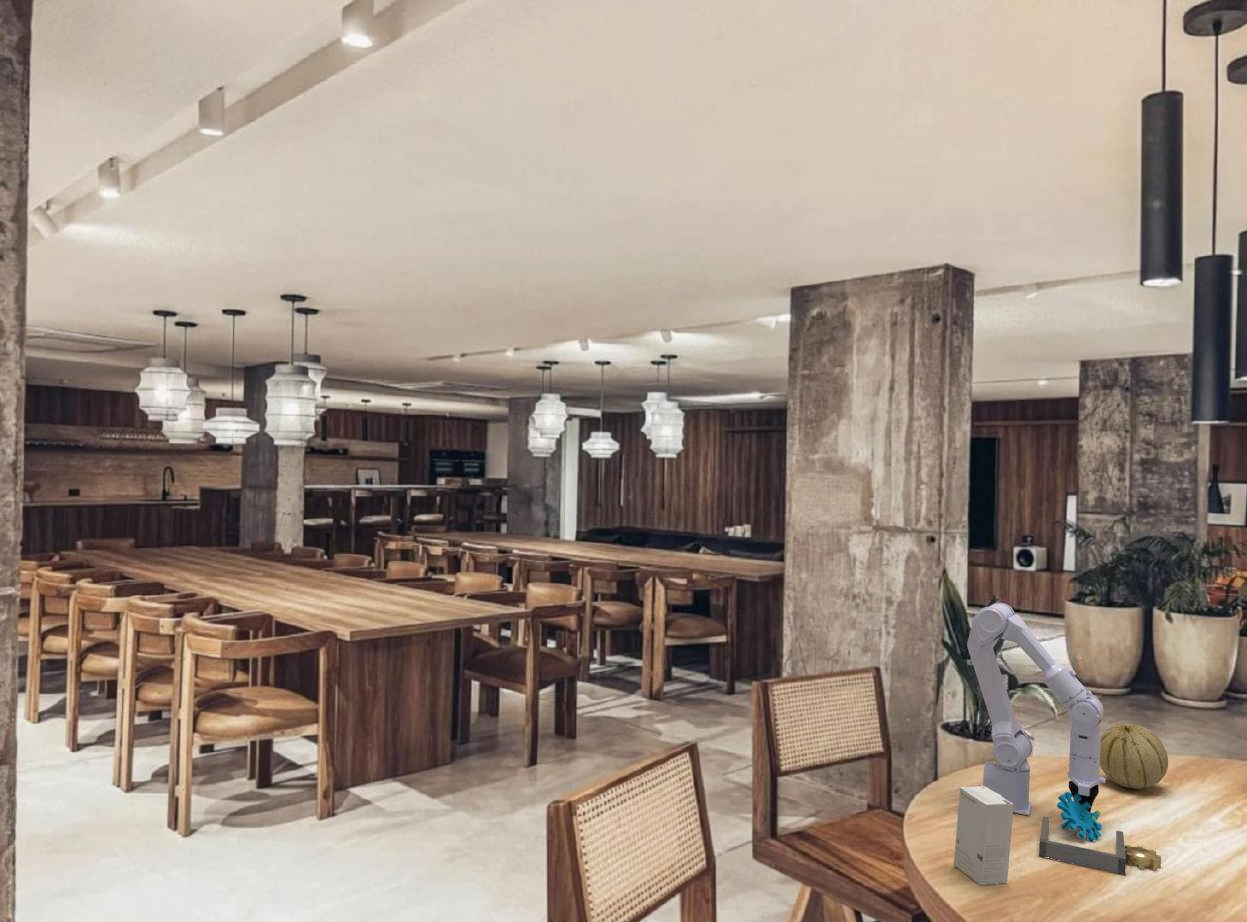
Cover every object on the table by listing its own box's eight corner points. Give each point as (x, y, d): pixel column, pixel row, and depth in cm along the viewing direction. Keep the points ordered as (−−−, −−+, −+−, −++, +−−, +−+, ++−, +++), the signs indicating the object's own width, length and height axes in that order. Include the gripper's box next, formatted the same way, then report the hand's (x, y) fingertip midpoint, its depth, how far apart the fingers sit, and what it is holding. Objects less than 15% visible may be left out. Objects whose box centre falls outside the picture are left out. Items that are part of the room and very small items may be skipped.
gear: (1078, 838, 175) (1053, 789, 182) (1057, 851, 179) (1033, 802, 186) (1116, 838, 180) (1090, 790, 186) (1095, 850, 183) (1071, 803, 190)
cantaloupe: (1167, 784, 213) (1170, 722, 213) (1166, 803, 200) (1168, 737, 200) (1097, 771, 221) (1100, 711, 221) (1092, 788, 208) (1094, 724, 208)
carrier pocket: (1038, 856, 170) (1039, 841, 170) (1042, 830, 183) (1042, 815, 183) (1163, 883, 161) (1164, 867, 161) (1158, 854, 173) (1158, 838, 173)
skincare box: (953, 866, 165) (956, 786, 165) (981, 863, 166) (984, 784, 166) (982, 887, 157) (985, 803, 157) (1011, 884, 158) (1014, 801, 158)
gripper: (1107, 768, 178) (1104, 835, 178) (1105, 748, 191) (1103, 811, 191) (1068, 761, 182) (1065, 828, 182) (1068, 742, 195) (1066, 804, 195)
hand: (1082, 819), depth 187 cm, fingers closed
